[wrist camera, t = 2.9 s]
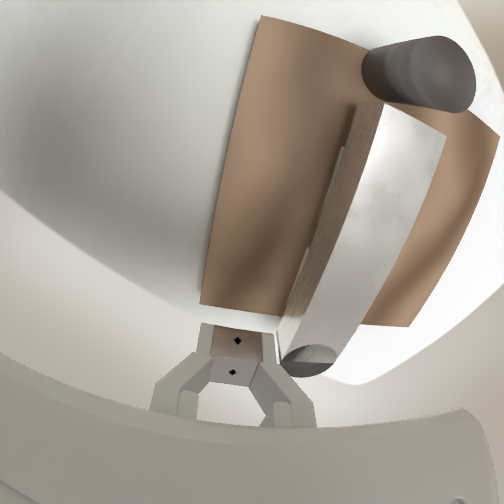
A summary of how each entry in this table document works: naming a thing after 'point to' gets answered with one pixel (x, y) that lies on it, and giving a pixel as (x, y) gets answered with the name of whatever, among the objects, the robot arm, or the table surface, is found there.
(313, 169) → the label board
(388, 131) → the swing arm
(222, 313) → the table surface
